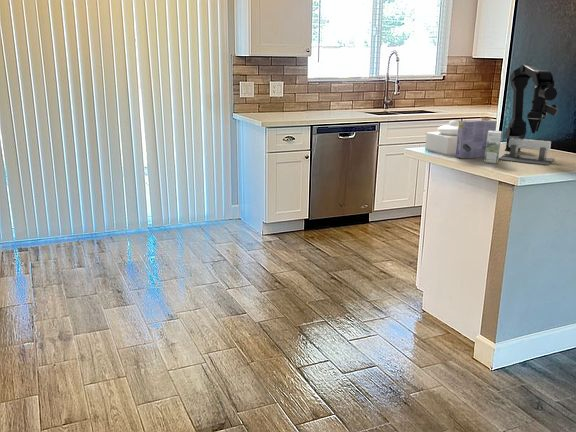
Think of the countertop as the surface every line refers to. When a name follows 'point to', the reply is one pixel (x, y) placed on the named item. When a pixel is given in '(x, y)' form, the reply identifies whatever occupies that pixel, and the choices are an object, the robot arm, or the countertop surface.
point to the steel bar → (529, 144)
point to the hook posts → (541, 156)
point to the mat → (524, 161)
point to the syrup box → (493, 147)
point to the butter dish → (443, 139)
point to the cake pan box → (473, 138)
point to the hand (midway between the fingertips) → (534, 132)
